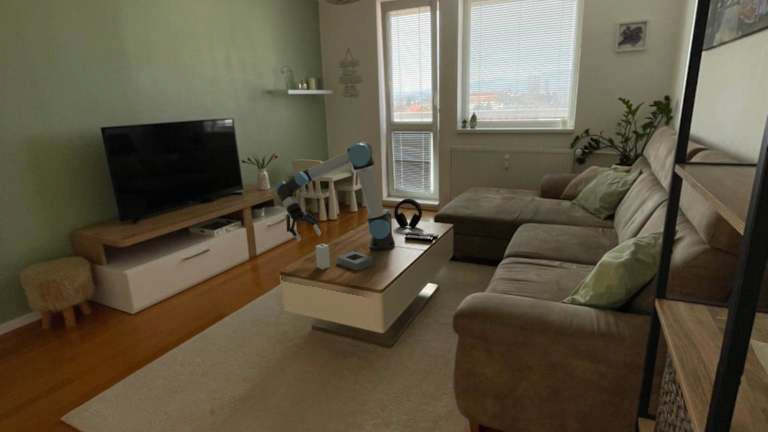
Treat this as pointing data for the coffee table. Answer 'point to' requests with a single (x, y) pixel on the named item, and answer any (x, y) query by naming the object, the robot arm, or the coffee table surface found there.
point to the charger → (322, 256)
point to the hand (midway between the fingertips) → (310, 237)
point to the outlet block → (355, 260)
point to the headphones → (401, 217)
